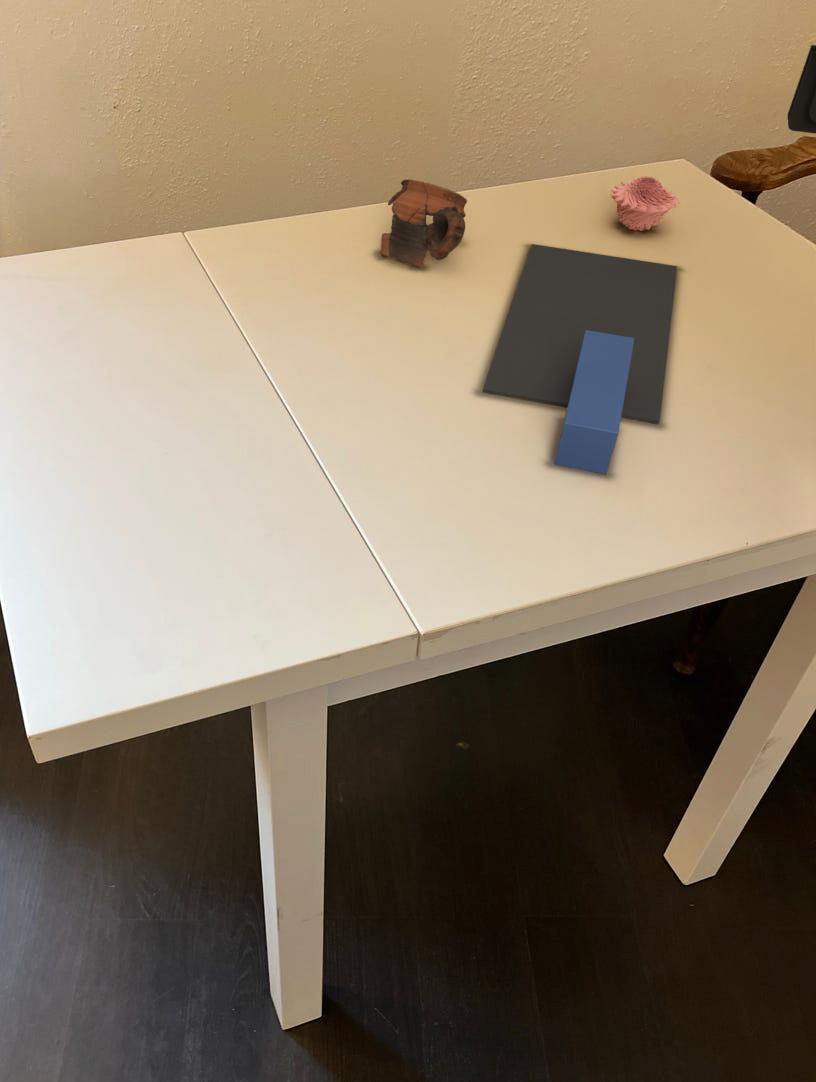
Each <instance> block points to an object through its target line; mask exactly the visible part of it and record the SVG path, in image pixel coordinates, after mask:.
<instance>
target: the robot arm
mask: <svg viewBox="0 0 816 1082" xmlns="http://www.w3.org/2000/svg"><path fill="white" fill-rule="evenodd" d="M796 85H797V86H796V88H795V92H794V94H793V97H792V100H791V103H790V106H789V109H788V112H787V127H788V130H790V131H791V132H792V131H793V132H800V133H807V134H816V45H815V44H811V45H810V47H809V50H808V54H807V56H806V59H805V62H804V65H803V68H802V71H801V73H800V76H799V80H798V83H797V84H796Z"/></svg>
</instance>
